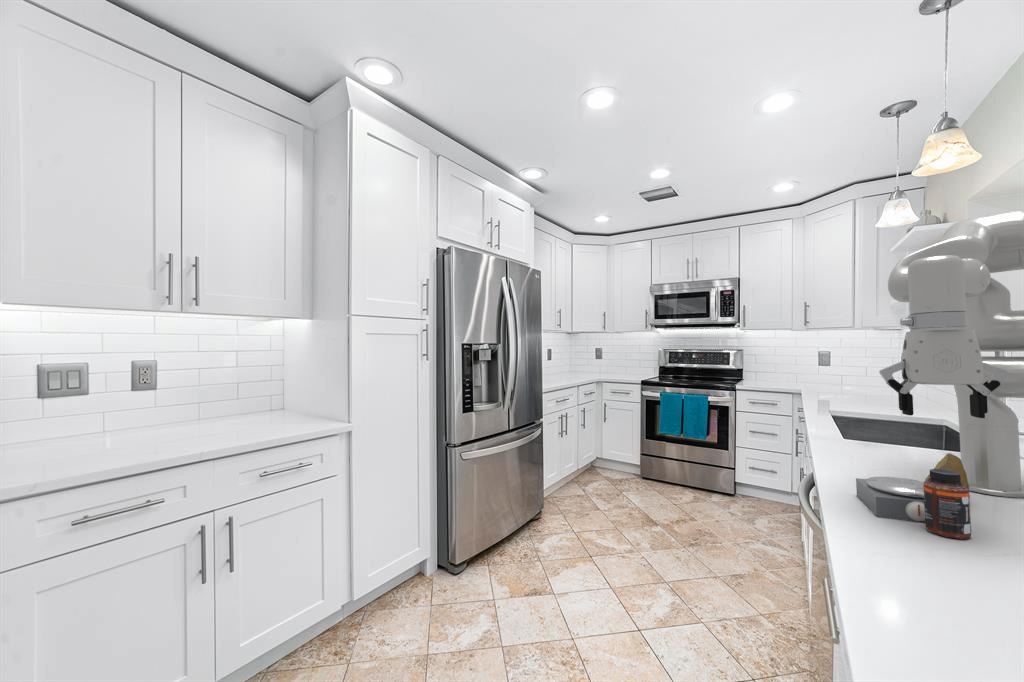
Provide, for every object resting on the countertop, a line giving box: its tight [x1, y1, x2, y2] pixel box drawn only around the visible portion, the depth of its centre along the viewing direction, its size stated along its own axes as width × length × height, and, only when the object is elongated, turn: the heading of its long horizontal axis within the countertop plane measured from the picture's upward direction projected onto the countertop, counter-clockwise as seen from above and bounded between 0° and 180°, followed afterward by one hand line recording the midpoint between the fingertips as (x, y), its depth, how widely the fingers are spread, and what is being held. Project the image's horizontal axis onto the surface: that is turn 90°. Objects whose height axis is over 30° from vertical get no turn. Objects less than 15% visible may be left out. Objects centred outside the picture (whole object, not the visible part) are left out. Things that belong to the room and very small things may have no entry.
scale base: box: [855, 477, 925, 523], centre depth 90 cm, size 14×13×4 cm
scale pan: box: [866, 476, 924, 498], centre depth 91 cm, size 12×12×1 cm
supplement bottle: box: [923, 468, 972, 540], centre depth 79 cm, size 6×6×11 cm
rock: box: [923, 452, 971, 500], centre depth 97 cm, size 11×9×10 cm
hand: (941, 415), depth 79 cm, fingers open, 9 cm apart
